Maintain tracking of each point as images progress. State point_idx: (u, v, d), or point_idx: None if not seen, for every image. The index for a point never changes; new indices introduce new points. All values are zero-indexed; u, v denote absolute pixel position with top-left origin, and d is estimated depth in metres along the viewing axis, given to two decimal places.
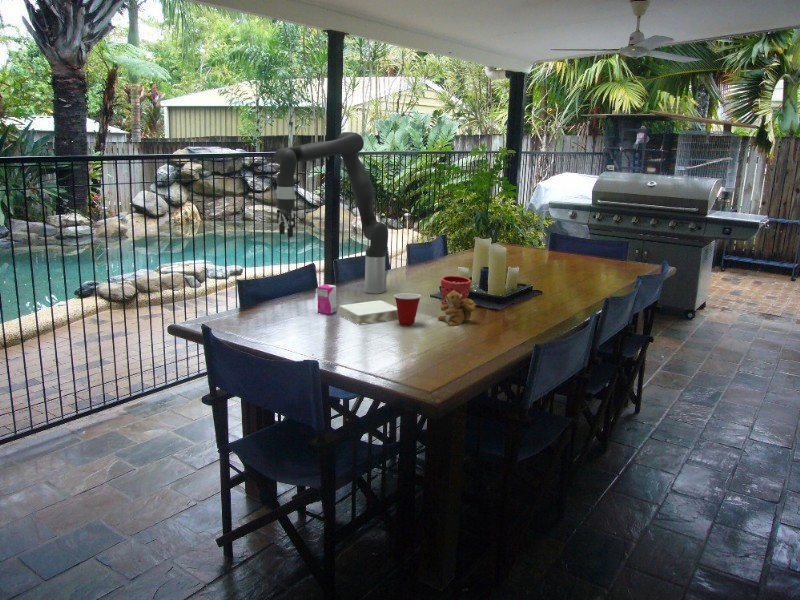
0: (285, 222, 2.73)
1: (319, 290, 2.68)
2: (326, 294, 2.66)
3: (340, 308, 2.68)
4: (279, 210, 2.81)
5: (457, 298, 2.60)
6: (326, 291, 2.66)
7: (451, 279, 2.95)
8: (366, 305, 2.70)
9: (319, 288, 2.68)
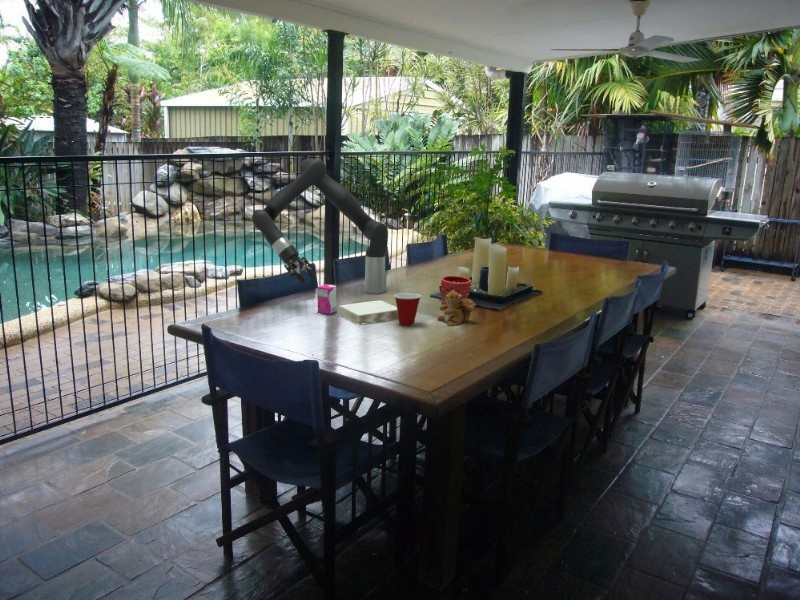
0: (293, 272, 2.70)
1: (319, 290, 2.68)
2: (326, 294, 2.66)
3: (340, 308, 2.68)
4: (300, 259, 2.78)
5: (456, 298, 2.60)
6: (326, 291, 2.66)
7: (451, 279, 2.95)
8: (366, 305, 2.70)
9: (319, 288, 2.68)
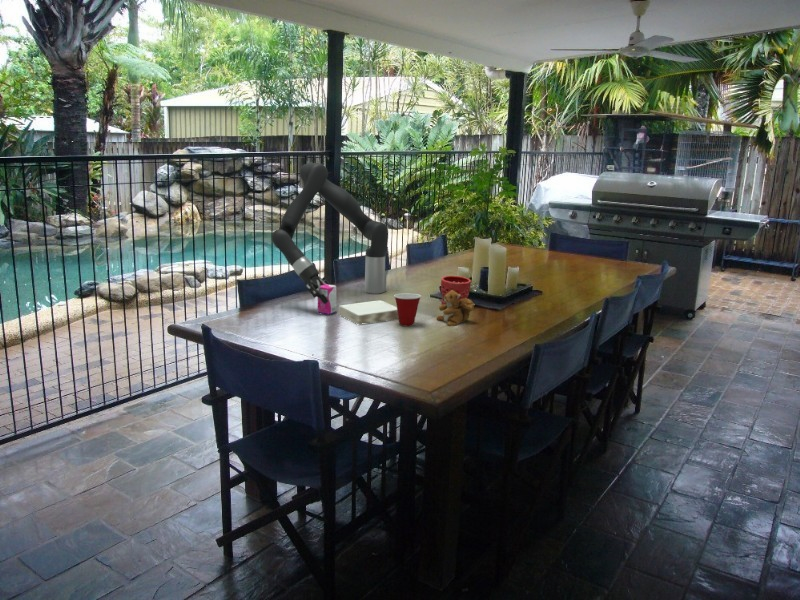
0: None
1: None
2: (326, 294, 2.66)
3: (340, 308, 2.68)
4: None
5: (455, 298, 2.61)
6: (326, 291, 2.66)
7: (451, 279, 2.95)
8: (366, 305, 2.70)
9: None
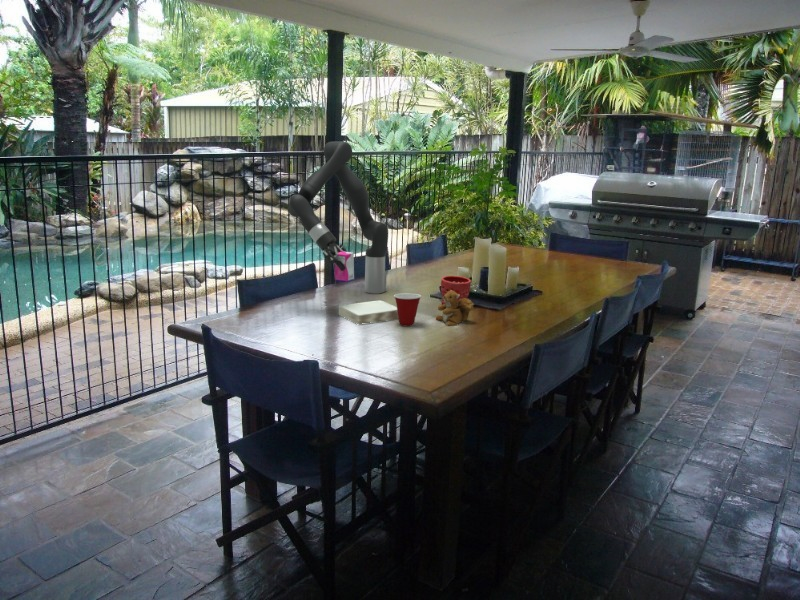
0: (332, 259, 2.64)
1: None
2: (344, 260, 2.62)
3: (340, 308, 2.68)
4: None
5: (455, 298, 2.61)
6: (343, 257, 2.62)
7: (451, 279, 2.95)
8: (366, 305, 2.70)
9: None
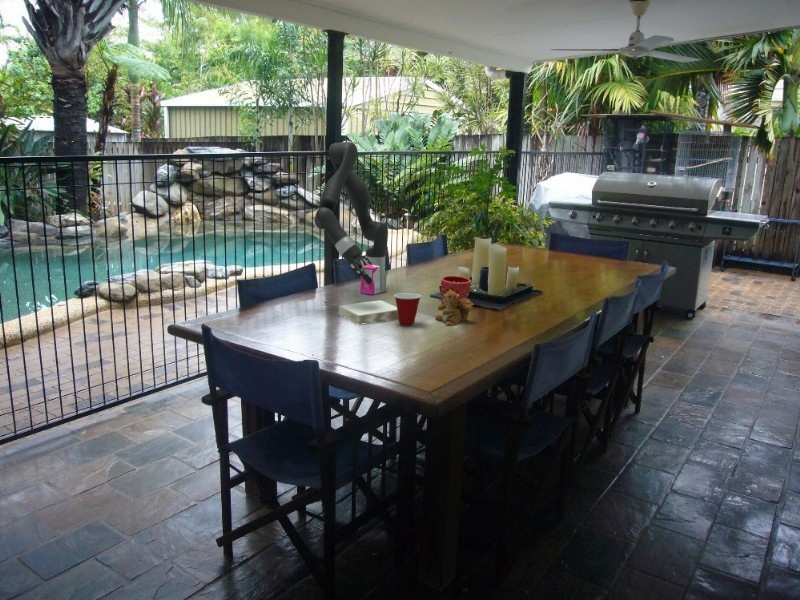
0: None
1: None
2: (371, 274, 2.61)
3: (340, 308, 2.68)
4: None
5: (454, 298, 2.61)
6: (370, 271, 2.60)
7: (451, 279, 2.95)
8: (366, 305, 2.70)
9: None
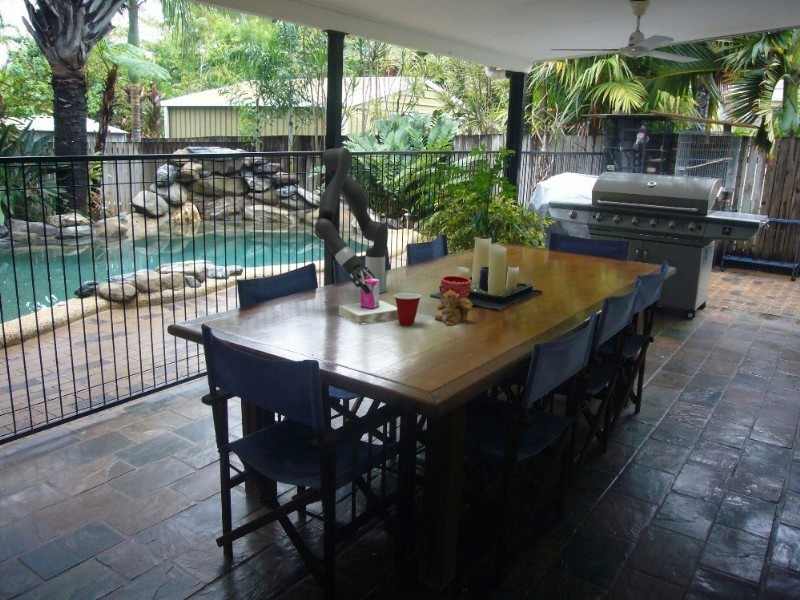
0: None
1: None
2: (370, 288, 2.62)
3: (340, 308, 2.68)
4: None
5: (454, 298, 2.61)
6: (370, 285, 2.62)
7: (451, 279, 2.95)
8: None
9: None
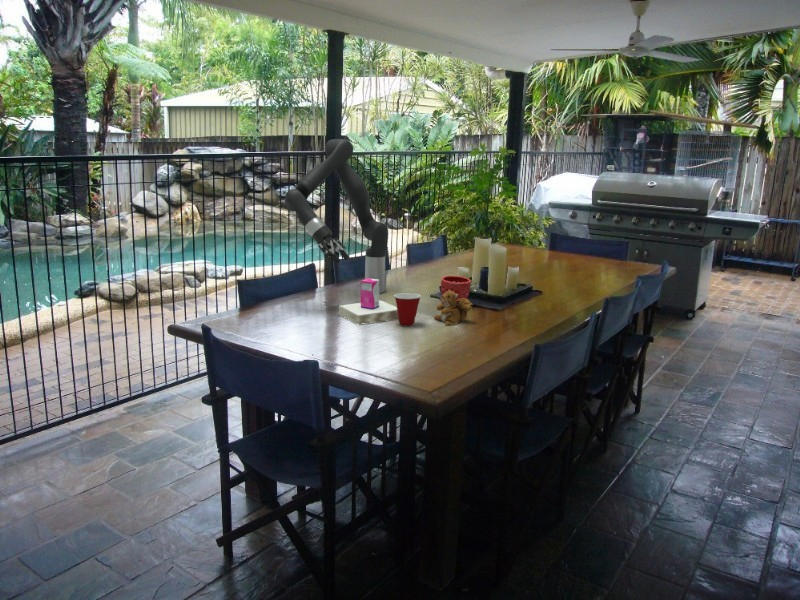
0: (327, 253, 2.66)
1: (362, 284, 2.64)
2: (370, 288, 2.62)
3: (340, 308, 2.68)
4: None
5: (453, 298, 2.61)
6: (370, 285, 2.62)
7: (451, 279, 2.95)
8: None
9: (363, 282, 2.64)
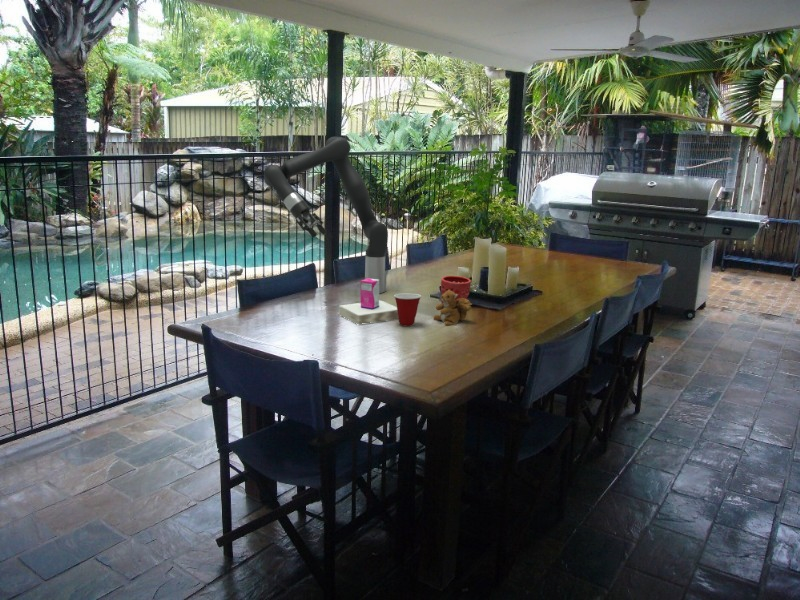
0: None
1: (362, 284, 2.64)
2: (370, 288, 2.62)
3: (340, 308, 2.68)
4: None
5: (452, 297, 2.61)
6: (370, 285, 2.62)
7: (451, 279, 2.95)
8: None
9: (363, 282, 2.64)
